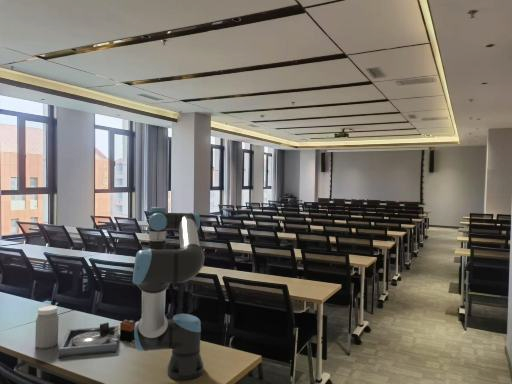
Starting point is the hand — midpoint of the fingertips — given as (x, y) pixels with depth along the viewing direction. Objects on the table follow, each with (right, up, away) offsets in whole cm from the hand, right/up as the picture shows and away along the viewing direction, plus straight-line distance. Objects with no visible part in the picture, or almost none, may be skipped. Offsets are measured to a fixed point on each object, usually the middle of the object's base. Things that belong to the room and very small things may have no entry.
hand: (155, 290), depth 177 cm
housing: (-33, -28, +7) cm, 44 cm away
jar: (-54, -28, +4) cm, 61 cm away
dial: (-33, -27, +7) cm, 43 cm away
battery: (-18, -29, +14) cm, 37 cm away
